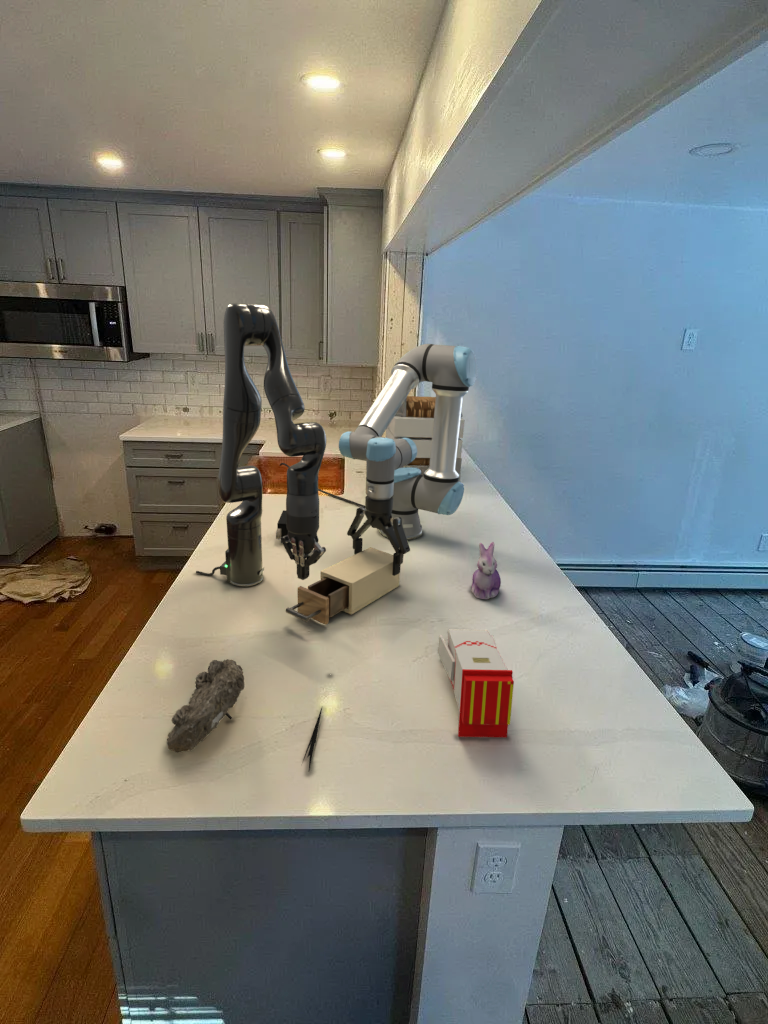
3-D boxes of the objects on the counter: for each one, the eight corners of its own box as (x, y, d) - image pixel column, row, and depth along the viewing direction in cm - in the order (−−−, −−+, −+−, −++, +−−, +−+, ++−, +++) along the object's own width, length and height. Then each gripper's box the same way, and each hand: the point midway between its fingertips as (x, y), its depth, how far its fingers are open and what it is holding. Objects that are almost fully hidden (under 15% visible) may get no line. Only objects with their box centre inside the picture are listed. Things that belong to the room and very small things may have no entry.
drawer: (309, 634, 135) (309, 608, 132) (281, 620, 140) (281, 595, 138) (375, 595, 154) (376, 572, 152) (348, 584, 160) (348, 562, 157)
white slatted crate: (382, 463, 289) (386, 382, 275) (445, 464, 293) (451, 384, 279) (390, 482, 257) (394, 392, 243) (460, 483, 261) (468, 394, 247)
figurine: (482, 603, 154) (488, 553, 149) (461, 587, 163) (466, 539, 158) (510, 597, 158) (516, 547, 153) (487, 581, 167) (493, 534, 162)
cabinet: (351, 614, 146) (352, 583, 143) (320, 601, 152) (320, 571, 149) (399, 586, 162) (400, 557, 159) (369, 574, 168) (370, 547, 165)
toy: (488, 613, 130) (523, 677, 101) (484, 667, 133) (517, 744, 104) (435, 612, 130) (455, 676, 101) (432, 666, 133) (451, 743, 103)
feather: (331, 679, 122) (336, 673, 122) (307, 777, 96) (313, 769, 95) (324, 675, 122) (329, 669, 121) (298, 772, 95) (304, 764, 95)
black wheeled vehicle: (295, 549, 186) (301, 528, 200) (295, 529, 183) (300, 509, 196) (275, 549, 186) (282, 527, 199) (274, 528, 183) (281, 508, 196)
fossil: (192, 660, 117) (244, 628, 112) (224, 691, 120) (276, 661, 115) (142, 746, 98) (202, 712, 93) (182, 779, 101) (242, 748, 96)
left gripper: (270, 507, 130) (272, 575, 136) (312, 521, 123) (312, 592, 129) (293, 499, 136) (294, 565, 142) (335, 512, 129) (334, 581, 135)
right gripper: (335, 489, 157) (334, 558, 164) (409, 510, 143) (405, 585, 151) (352, 483, 163) (351, 550, 170) (425, 502, 149) (420, 575, 156)
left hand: (303, 578), depth 135 cm, fingers closed
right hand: (376, 566), depth 160 cm, fingers open, 13 cm apart
